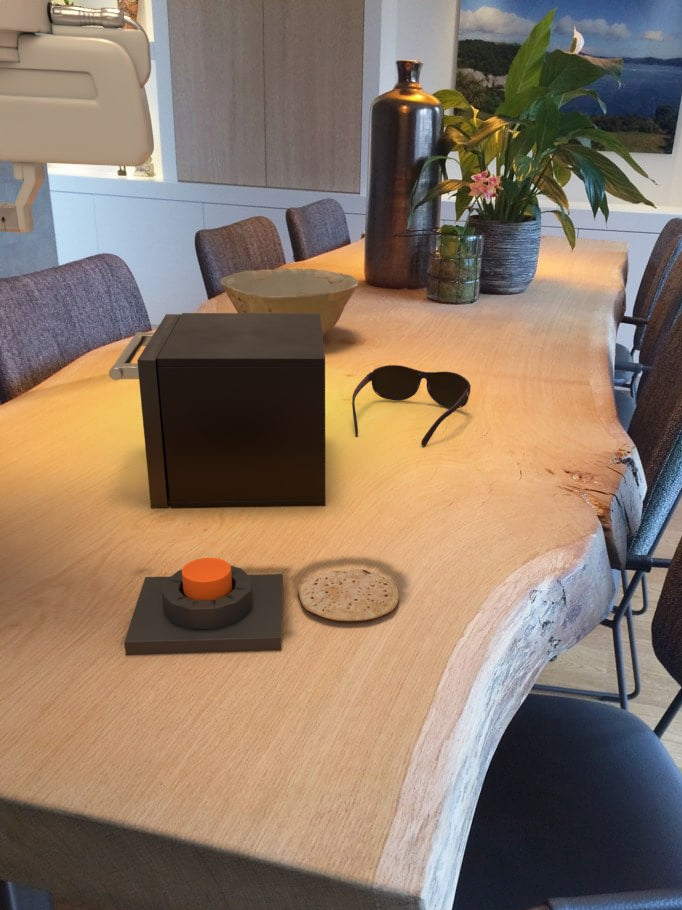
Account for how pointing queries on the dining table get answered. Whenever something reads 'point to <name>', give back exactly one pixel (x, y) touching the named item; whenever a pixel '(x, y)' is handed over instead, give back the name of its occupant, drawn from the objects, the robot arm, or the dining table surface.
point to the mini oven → (244, 410)
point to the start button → (207, 579)
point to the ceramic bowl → (291, 292)
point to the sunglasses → (405, 384)
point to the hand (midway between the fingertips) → (9, 231)
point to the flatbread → (349, 595)
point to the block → (207, 617)
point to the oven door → (149, 401)
